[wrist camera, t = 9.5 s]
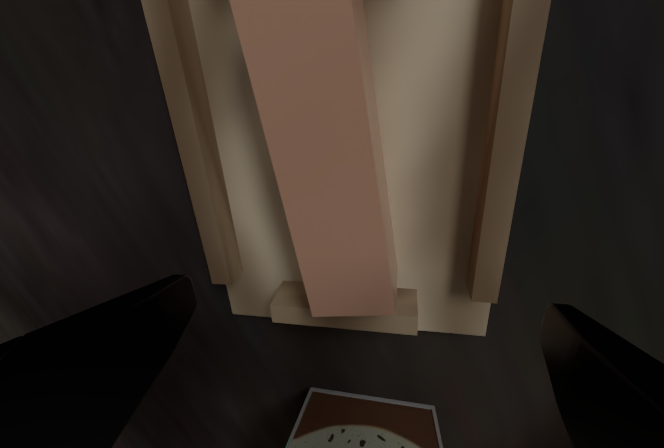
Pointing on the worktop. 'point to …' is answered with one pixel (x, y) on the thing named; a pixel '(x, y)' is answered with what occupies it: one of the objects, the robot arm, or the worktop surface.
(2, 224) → the worktop surface
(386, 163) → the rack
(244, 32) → the pinkish brown block
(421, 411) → the food container
